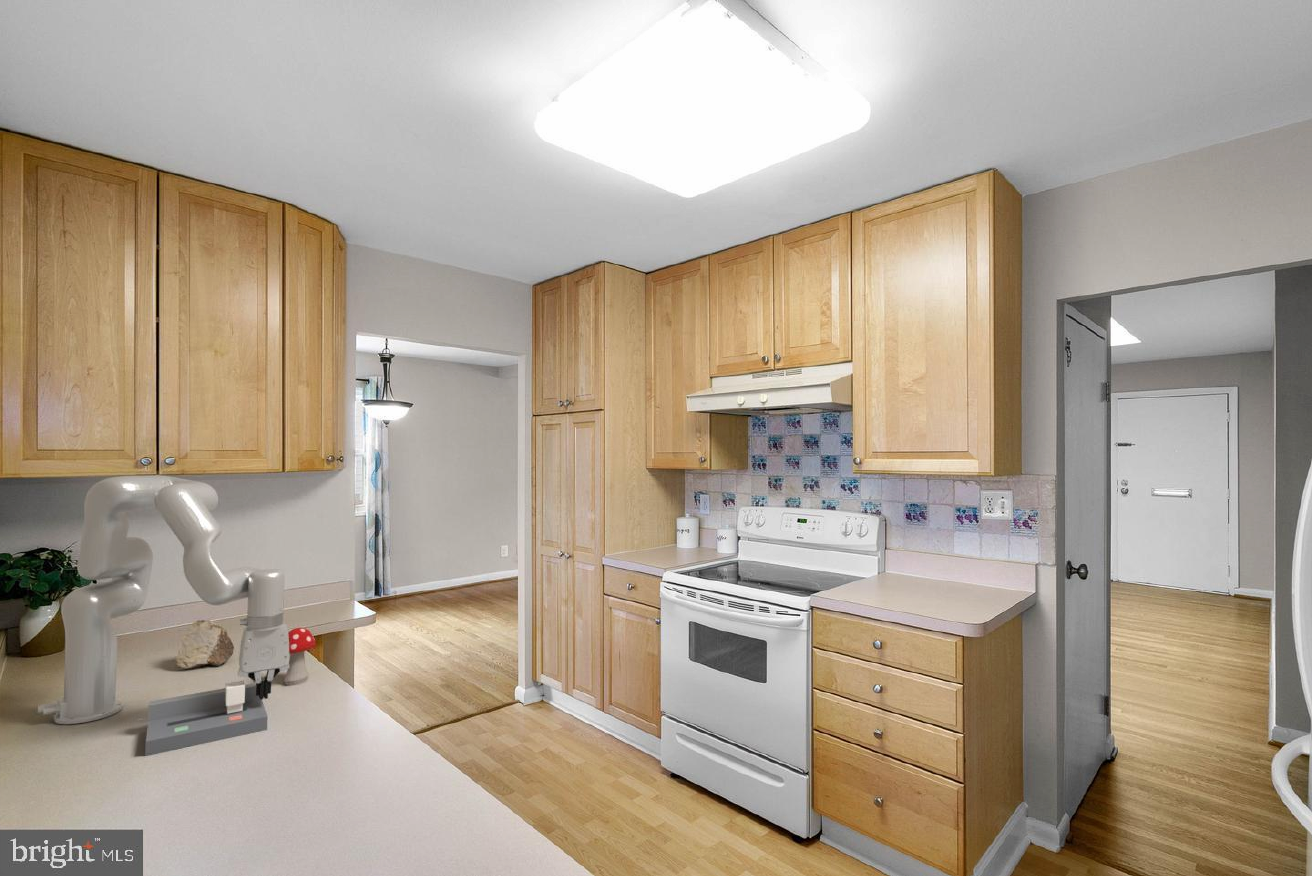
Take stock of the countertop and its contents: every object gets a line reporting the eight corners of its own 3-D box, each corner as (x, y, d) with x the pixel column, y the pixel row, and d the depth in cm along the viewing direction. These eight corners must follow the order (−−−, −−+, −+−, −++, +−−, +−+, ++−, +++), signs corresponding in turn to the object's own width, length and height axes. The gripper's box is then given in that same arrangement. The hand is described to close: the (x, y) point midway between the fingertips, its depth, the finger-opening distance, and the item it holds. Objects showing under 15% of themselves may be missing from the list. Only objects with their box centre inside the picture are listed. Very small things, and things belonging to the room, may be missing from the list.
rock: (167, 651, 180) (213, 611, 191) (157, 652, 184) (203, 612, 195) (205, 684, 186) (248, 642, 196) (195, 683, 190) (237, 643, 201)
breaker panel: (145, 755, 132) (146, 724, 133) (148, 729, 145) (149, 701, 145) (267, 729, 146) (267, 700, 146) (260, 707, 158) (261, 681, 159)
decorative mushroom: (296, 688, 171) (297, 633, 172) (269, 686, 173) (270, 631, 174) (322, 676, 181) (323, 624, 182) (296, 674, 183) (297, 622, 183)
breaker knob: (225, 714, 146) (226, 688, 146) (224, 708, 149) (225, 683, 149) (244, 711, 148) (245, 685, 148) (242, 705, 151) (243, 680, 152)
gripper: (229, 629, 145) (227, 709, 145) (302, 619, 154) (300, 695, 154) (227, 622, 151) (225, 699, 151) (298, 613, 160) (296, 686, 160)
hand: (263, 697), depth 152 cm, fingers closed
